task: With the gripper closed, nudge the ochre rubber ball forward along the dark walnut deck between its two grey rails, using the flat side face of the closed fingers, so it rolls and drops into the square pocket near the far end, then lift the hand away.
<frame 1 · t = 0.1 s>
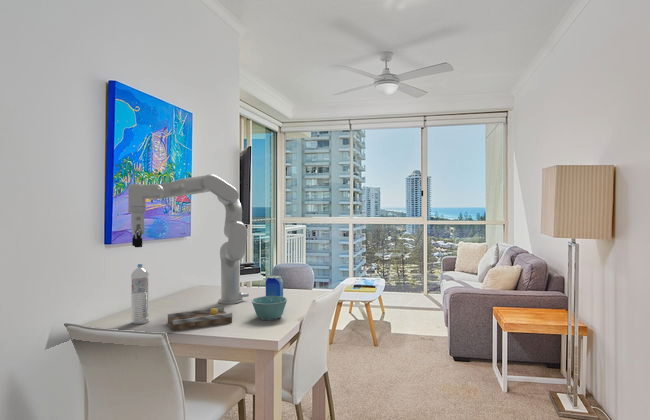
hand: (137, 246, 198), 31 cm above the table, fingers open, 9 cm apart
bowl: (269, 318, 187), on the table
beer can: (274, 310, 203), on the table
deck: (199, 323, 179), on the table
water bottle: (140, 323, 180), on the table
ball: (213, 311, 182), point 4 cm above the table, touching deck
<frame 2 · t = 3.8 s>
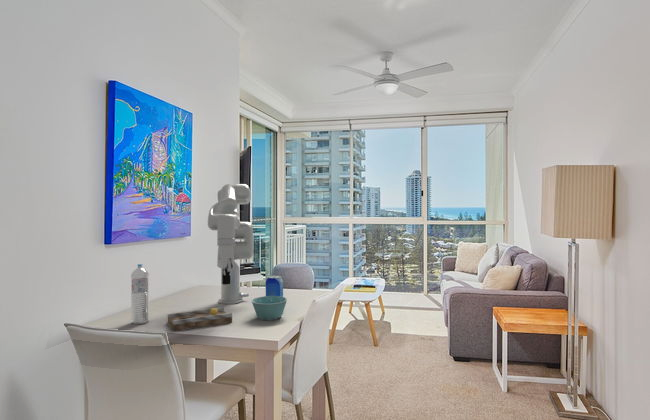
hand: (226, 284, 184), 16 cm above the table, fingers closed
nothing on the table moved.
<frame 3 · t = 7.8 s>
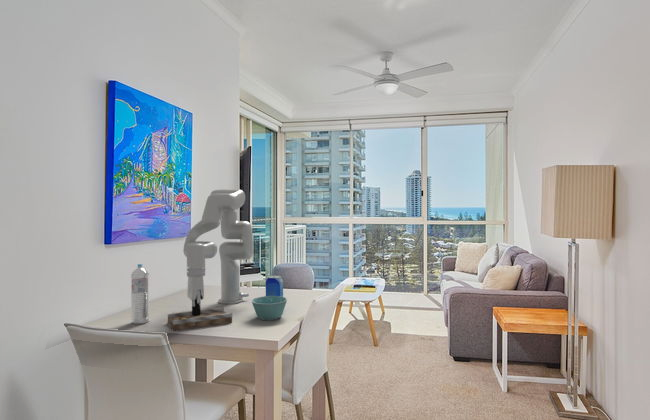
hand: (196, 315, 178), 3 cm above the table, fingers closed
ball: (183, 321, 175), point 2 cm above the table, tilted 125°
everything else where it was.
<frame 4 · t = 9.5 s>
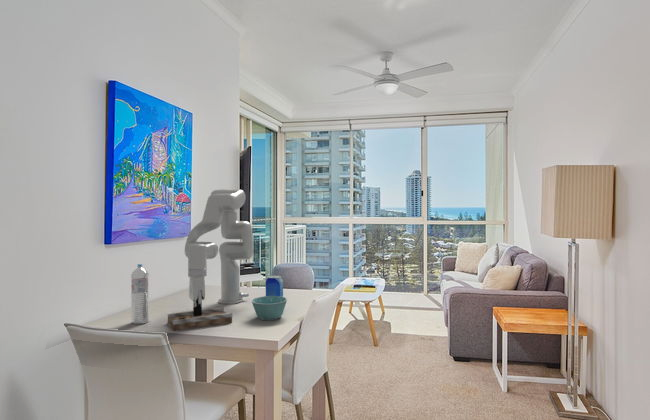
hand: (197, 315, 178), 3 cm above the table, fingers closed
ball: (187, 321, 176), point 2 cm above the table, tilted 66°
everything else where it was.
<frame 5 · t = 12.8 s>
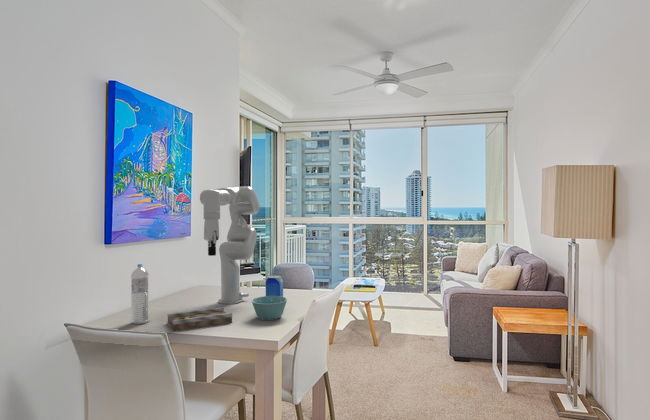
hand: (212, 255, 195), 27 cm above the table, fingers closed
ball: (187, 321, 176), point 2 cm above the table, tilted 76°
everything else where it was.
at the end: ball 0.8 cm from the target spot on the deck, point 1.6 cm above the deck's base; ball point 1.6 cm above the table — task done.
